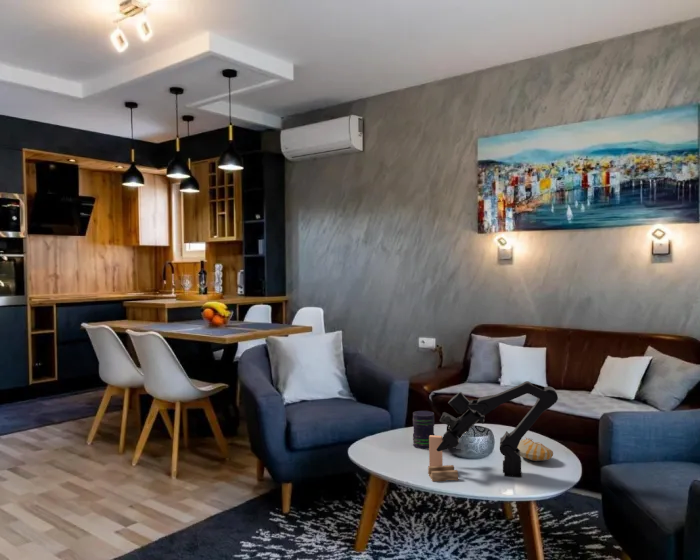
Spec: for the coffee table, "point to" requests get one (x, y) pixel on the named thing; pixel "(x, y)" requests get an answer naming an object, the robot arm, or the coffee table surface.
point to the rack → (442, 473)
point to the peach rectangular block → (435, 451)
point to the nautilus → (534, 450)
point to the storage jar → (422, 428)
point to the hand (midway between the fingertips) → (438, 446)
